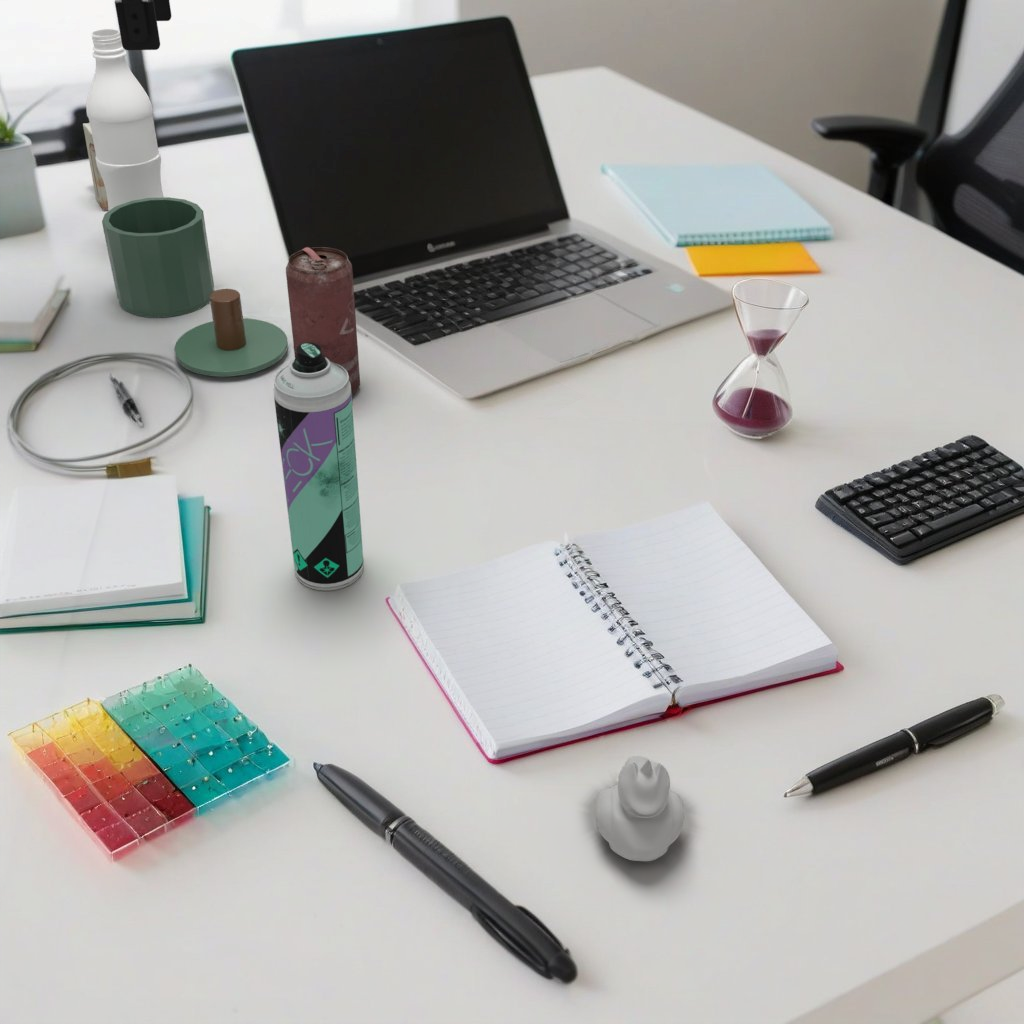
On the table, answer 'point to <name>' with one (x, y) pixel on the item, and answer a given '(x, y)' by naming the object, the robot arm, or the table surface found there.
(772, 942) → the table surface
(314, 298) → the can
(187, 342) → the tin lid
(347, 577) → the spray can
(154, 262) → the tin
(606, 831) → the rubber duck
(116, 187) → the water bottle
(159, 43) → the robot arm
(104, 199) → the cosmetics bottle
